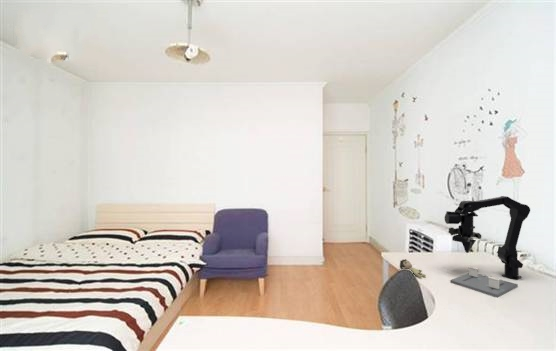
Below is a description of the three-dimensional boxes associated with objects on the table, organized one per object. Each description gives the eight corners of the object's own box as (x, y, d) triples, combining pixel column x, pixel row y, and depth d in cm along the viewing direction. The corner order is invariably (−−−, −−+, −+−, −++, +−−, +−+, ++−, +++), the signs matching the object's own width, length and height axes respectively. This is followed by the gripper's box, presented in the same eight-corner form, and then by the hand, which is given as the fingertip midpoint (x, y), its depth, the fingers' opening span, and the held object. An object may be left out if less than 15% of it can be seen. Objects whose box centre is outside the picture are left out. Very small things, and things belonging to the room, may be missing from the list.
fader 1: (470, 274, 146) (470, 266, 146) (479, 276, 143) (478, 268, 143) (468, 275, 145) (468, 267, 145) (477, 277, 142) (477, 269, 142)
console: (472, 274, 151) (472, 270, 151) (517, 286, 134) (517, 283, 134) (450, 282, 140) (450, 278, 140) (497, 297, 123) (497, 293, 123)
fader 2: (489, 285, 132) (489, 276, 132) (499, 288, 129) (499, 279, 128) (487, 286, 131) (487, 277, 131) (498, 289, 128) (497, 280, 127)
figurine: (418, 272, 144) (397, 258, 157) (416, 283, 145) (395, 268, 159) (429, 270, 147) (407, 257, 160) (427, 281, 148) (405, 267, 162)
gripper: (460, 220, 162) (460, 246, 162) (442, 223, 152) (442, 251, 153) (481, 223, 152) (481, 251, 152) (464, 226, 143) (464, 256, 143)
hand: (467, 252), depth 150 cm, fingers closed
